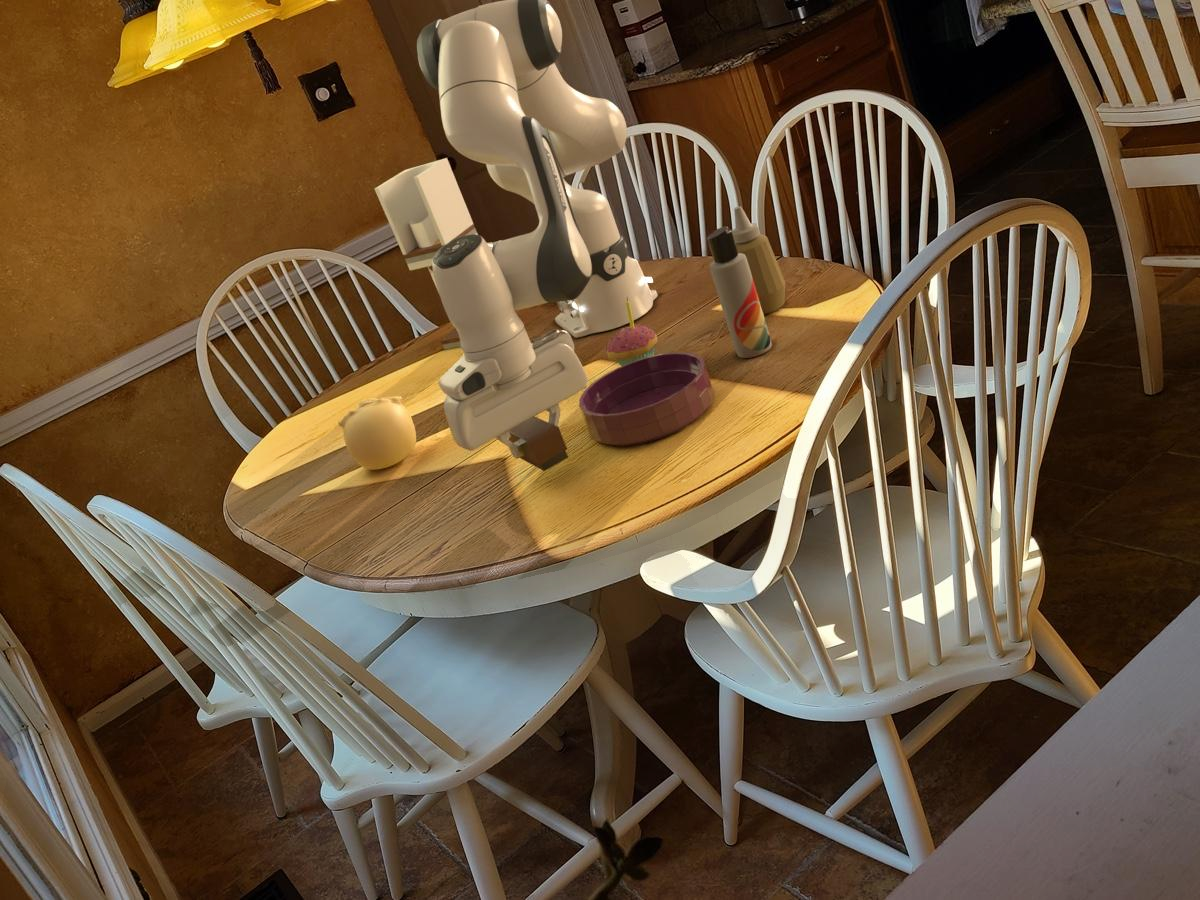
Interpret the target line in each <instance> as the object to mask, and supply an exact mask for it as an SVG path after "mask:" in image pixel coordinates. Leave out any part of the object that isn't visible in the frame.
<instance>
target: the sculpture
mask: <svg viewBox="0 0 1200 900" xmlns="http://www.w3.org/2000/svg"><path fill="white" fill-rule="evenodd" d="M337 425H339V426H340V427H341V428H342V432H343V434H342V435H343V440H344V443H345V446H346V449H347V451H348V453H349V455H350V456H351V458H352V459H353V460H354V461H355V462H356V464H357V465H359V466H360V467H362V468H363V469H367V470H372V471H373V470H374V471H375V470H382V469H386V468H389V467H392V466H394V465H396V464H398V463H400V462H401V461H403V460H405V458H406V457H408V456H409V455H410V454H411V453H412V452H413V450H414V448H415V446H416V443H417V431H416V427H415V424H414V421H413V418H412V416H411V414H410V412H409V410H408V409H407V408H406V407H405V406H404V405H403V397H402V396H401V395H393V396H384V397H381V398H378V397H377V398H376V397H368V398H364V399H363V400H361V401H360V402H359V403H358V405H356V406H355V407H354V408H353V409H351V410H349V411H348V412H347V413H346V414H345V415H344V416H342V417H341V418H340V419H339V420H338V421H337Z"/></svg>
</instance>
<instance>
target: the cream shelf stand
mask: <svg viewBox="0 0 1200 900" xmlns="http://www.w3.org/2000/svg"><path fill="white" fill-rule="evenodd" d="M374 191H375V193H376V196H377V198H378V200H379V203H380V205H381V207H382V210H383V212H384V215H385V216H386V219H387V221H388V224H389V226H390V229H391V230H392V232H393V233H392V234H393V235H394V237H395V239H396V242H397V244H398V246H399V249H400V251H401V253H402V256H403V258H404V261H405V263H406V264H407V265H406V266H407V267H408V270H409V271H415V270H419V269H423V268H427V269H428V271H429V274H430V276H431V278H432V280H433V284H434V286H435V288H436V291H437V293H438V294H439V292H438V289H437V285H436V282H435V278H434V274H433V268H432V259H433V257H434V255H435V254H436V252H437V251H438V250H439V249H440V248H441V247H442V246H444V245H446V244H447V243H449V242H450V241H452V240H454V239H456V238H458V237H461V236H465V235H471V234H475V235H479V234H478V232H477V229H476V227H475V224H474V222H473V219H472V217H471V214H470V211H469V209H468V207H467V203H466V202H465V200H464V197H463V194H462V192H461V190H460V187H459V185H458V182H457V180H456V176H455V174H454V172H453V170H452V167H451V164H450V161H449V160H448V157H445V158H442V159H438V160H435V161H432V162H428V163H425V164H421V165H418V166H417V165H416V166H414V167H410V168H407V169H404V170H403V171H401V172H399V173H397V174H396V175H394V176H393V177H391V178H389V179H388V180H386V181H385V182H382V183H381V184H379V185H378V186H377V187H374ZM440 343H441V345H442V347H443V350H444V351H446V350H451V349H457V348H461V345H460V338H459V334H458V332H457V330H456V328H455V327H454V328H453V329H452V330H451V331H450V332H449V333H447V334H446V335H445V336H444V337H442V339H440Z"/></svg>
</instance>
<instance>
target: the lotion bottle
mask: <svg viewBox="0 0 1200 900" xmlns="http://www.w3.org/2000/svg"><path fill="white" fill-rule="evenodd" d="M706 240H707V244H708V246H709V249H710V253H711V255H712V259H713V261H712V262H711V263H710V264H709V271H710V274H711V277H712V281H713V284H714V287H715V290H716V293H717V296H718V297H717V298H718V300H719V303H720V306H721V310H722V313H723V316H724V319H725V322H726V325H727V329H728V332H729V335H730V338H731V342H732V344H733V348H734V351H735V353H736V356H737V357H739V358H742V359H750V358H751V359H752V358H755V357H758V356H762V355H763V354H765V353H766V352H768V351H769V350H771V348H772V339H771V335H770V332H769V329H768V325H767V322H766V318H765V314H763V312H762V308H761V305H760V302H759V298H758V295H757V291H756V288H755V285H754V281H753V278H752V275H751V271H750V268H749V265H748V261H747V258H746V256H745V255H744V254H742V253H738V251H737V247H736V244H735V241H734V237H733V234H732V229H731V228H729V226H726V225H725V226H722V227H719V228H716V229H713V230H712V231H710V233H709V234H708V235H707V237H706Z"/></svg>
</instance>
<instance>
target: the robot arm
mask: <svg viewBox="0 0 1200 900" xmlns="http://www.w3.org/2000/svg"><path fill="white" fill-rule="evenodd" d="M562 46H563V30H562V24H561V21H560V19H559V16H558V14H557V13H556V11H555V9H554V8H553V6H552V4H551V2H550V1H548V0H499V1H494V2H489V3H485V4H481V5H478V6H477V7H475V8H474V7H473V8H471V9H468V10H465V11H462V12H459V13H457V14H454V15H451V16H449V17H447V18H445V19H441V18H439V19H437V20H433V22H431V23H428V24H427V25H425V26H424V27H423V28H422V29H421V31H420V33H419V35H418V38H417V39H416V52H417V59H418V64H419V68H420V69H421V72H422V74H423V76H424V78H425V80H426V82H427V83H428V84H429V86H431V87H432V88H434V89H435V90H437V91H438V95H439V96H438V97H439V107H440V108H439V109H440V117H441V122H442V128H443V131H444V134H445V137H446V139H447V141H448V143H449V144H450V145H451V146H452V147H453V148H454V150H456V151H457V152H458V153H459V154H460V155H462V156H464V157H466V158H467V159H470V160H472V161H474V162H476V163H481V164H485V167H486V169H487V172H488V174H489V177H490V178H491V179H492V181H493V182H494V183H495V184H496V185H497V186H499V187H500V188H502V190H504V191H507V192H510V193H513V194H516V195H519V196H521V197H523V198H525V200H528V201H529V202H531V204H533V205H534V207H535V210H536V211H535V212H536V213H537V214H536V215H537V217H538V221H539V222H538V225H537V227H536V228H535V229H534V230H533V231H531V232H529V233H524V234H521V235H517V236H513V237H510V238H507V239H502V240H498V241H497V240H496V241H494V242H493V241H491V242H487V241H486V239H485V238H484V237H483V236H482V235H479V234H478V235H475V234H471V235H465V236H461V237H458V238H456V239H454V240H452V241H450V242H449V243H447V244H446V245H444V246H442V247H441V248H440V249H439V250H438V251H437V252H436V254H435V255H434V257H433V259H432V268H433V274H434V278H435V282H436V285H437V288H436V290H437V289H438V290H437V293H438V292H439V293H438V295H439V298H440V301H441V303H442V307H443V308H444V311H445V314H446V316H447V318H448V321H449V322H450V324H451V325H452V326H453V327H454V329H455V328H456V330H457V332H458V334H459V338H460V345H461V347H460V349H461V351H462V353H463V354H462V355H461V356H460V357H459V359H457V360H456V361H455V362H454V364H453V365H452V366H451V367H450V368H449V369H448V370H447V371H445V373H444V374H443V375H442V376H441V377H440V378H439V379H438V387H439V389H440V390H441V391H442V392H443V393H444V395H446V397H445V399H444V402H443V411H444V413H445V419H446V421H447V425H448V428H449V431H450V433H451V436H452V439H453V441H454V442H455V444H456V445H457V446H458V447H460V448H461V449H464V450H466V451H469V452H471V451H474V450H476V449H478V448H480V447H481V446H483V445H486V443H489V442H491V441H492V440H494V439H496V440H498V441H499V442H500V443H502V444H504V445H505V446H506V447H508V449H509V452H510V454H511V455H512V457H513V458H514V459H516V460H518V459H521V458H520V457H522V456H523V455H525V454H526V452H525V450H524V447H523V445H522V444H521V443H519V442H518V441H516V442H514V443H512V442H511V441H509V440H508V438H510V437H511V436H510V433H509V430H510V429H512V428H514V427H516V426H518V425H520V424H521V423H523V422H525V421H527V420H529V419H530V418H532V417H534V416H535V417H537V416H538V415H540V414H541V413H543V412H545V411H546V412H547V413H548V420H547V422H548V423H550V424H553V425H555V426H557V427H559V429H560V432H561V433H562V430H561V427H560V425H559V423H560V417H561V411H562V409H561V407H560V405H559V404H560V403H562V402H563V401H565V400H567V399H569V398H571V397H572V396H574V395H576V394H579V392H581V391H583V390H586V389H587V386H588V382H589V378H588V375H587V372H586V371H585V368H584V366H583V365H582V362H581V361H580V358H579V357H578V356H577V354H576V352H575V344H574V340H573V339H572V336H573V337H574V338H576V339H577V338H583V337H586V336H588V335H592V334H597V333H601V332H607V331H610V330H615V329H617V328H620V327H623V326H625V325H627V324H630V322H629V317H628V312H627V307H626V302H627V297H628V301H629V302H630V306H631V311H632V316H633V321H634V322H635V320H638V319H639V318H641V317H642V316H644V315H646V313H648V312H649V311H650V310H651V309H652V308H653V305H654V301H655V299H657V298H658V296H659V294H658V292H657V290H656V289H650V286H649V284H648V283H654V280H653V278H652V276H645V275H644V272H643V269H642V267H641V266H640V264H639V262H638V260H637V259H636V258H633V257H630V256H629V254H630V253H629V249H628V245H627V242H626V241H625V239H624V237H623V235H621V234H620V232H619V229H618V226H617V223H616V220H615V217H614V214H613V211H612V208H611V206H610V202H609V201H608V199H607V198H606V197H605V196H604V195H603V194H601V193H600V192H597V191H595V190H591V189H583V188H577V187H573V186H572V185H571V184H569V183H568V182H567V181H566V180H565V177H567V176H569V175H572V174H575V173H577V172H580V171H584V170H586V169H590V168H592V167H595V166H597V165H601V164H602V163H604V162H606V161H607V160H609V159H612V158H613V157H615V156H616V155H618V154H619V153H621V152H622V151H623V149H624V147H625V145H626V141H627V137H628V128H627V122H626V119H625V117H624V114H623V112H622V111H621V109H619V107H618V106H617V105H616V104H614V102H612V101H610V100H609V99H606V98H601V97H593V96H591V95H587V94H584V93H582V92H580V91H578V90H576V89H575V88H573V87H572V86H570V85H569V83H567V82H566V81H565V79H564V78H563V77H562V74H561V73H560V71H559V69H558V66H557V65H556V62H557V60H558V59H559V57H560V55H561V54H562V52H563V51H562V50H563V47H562ZM548 303H549V304H554V303H556V304H557V306H558V308H559V310H560V311H561V312H560V313H559V314H557V315H556V316H555V318H554V320H555V323H556V324H557V325H558V326H559V327H561V328H562V329H557V328H555V329H552V330H549V331H548V332H547V333H545V334H544V335H541V336H539V337H536V338H534V339H532V340H530V337H529V334H528V332H527V330H526V327H525V324H524V323H523V321H522V319H521V318H520V317H519V315H518V314H517V312H516V311H520V310H524V309H525V310H526V309H529V308H533V307H536V306H541V305H544V304H548Z"/></svg>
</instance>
